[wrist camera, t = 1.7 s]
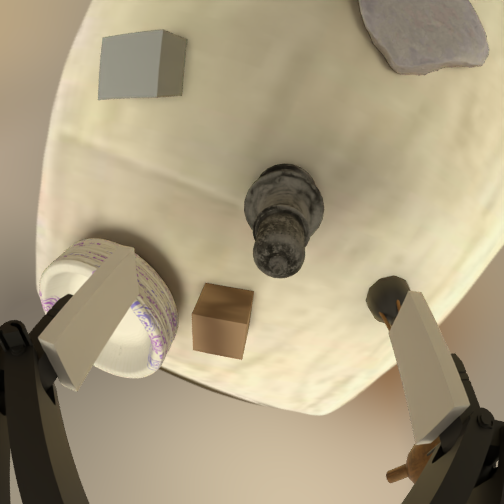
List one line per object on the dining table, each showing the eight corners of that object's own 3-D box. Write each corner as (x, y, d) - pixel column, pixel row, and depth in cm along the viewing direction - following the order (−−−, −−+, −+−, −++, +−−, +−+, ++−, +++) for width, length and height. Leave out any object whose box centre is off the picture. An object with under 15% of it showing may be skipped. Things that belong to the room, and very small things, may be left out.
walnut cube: (254, 290, 31) (246, 324, 26) (249, 326, 33) (242, 359, 29) (205, 282, 31) (191, 313, 27) (205, 318, 33) (193, 349, 29)
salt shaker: (295, 146, 23) (296, 193, 13) (333, 205, 25) (356, 290, 15) (237, 184, 25) (193, 255, 15) (275, 237, 27) (260, 332, 17)
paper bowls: (57, 262, 33) (20, 298, 26) (124, 196, 27) (76, 233, 20) (133, 345, 38) (109, 388, 31) (216, 309, 32) (196, 364, 26)
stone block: (385, 83, 21) (482, 66, 16) (390, 82, 17) (504, 64, 12) (329, -30, 16) (427, -47, 12) (322, -50, 12) (437, -67, 8)
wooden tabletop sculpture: (377, 325, 31) (407, 501, 13) (350, 305, 30) (371, 499, 13) (417, 291, 28) (479, 470, 11) (392, 267, 27) (456, 466, 10)
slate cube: (187, 39, 20) (163, 29, 15) (182, 95, 22) (156, 97, 18) (134, 43, 20) (102, 37, 16) (130, 96, 22) (98, 100, 18)
